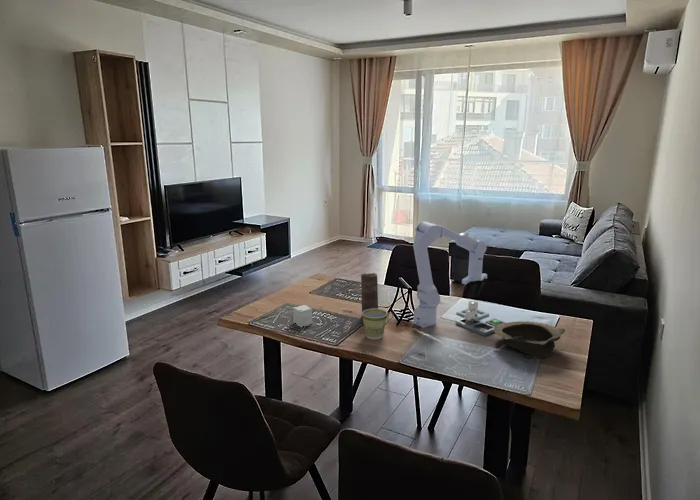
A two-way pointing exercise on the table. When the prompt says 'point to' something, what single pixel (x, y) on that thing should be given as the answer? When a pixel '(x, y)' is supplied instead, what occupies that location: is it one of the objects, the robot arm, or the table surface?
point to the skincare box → (302, 315)
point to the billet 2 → (469, 317)
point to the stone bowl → (530, 337)
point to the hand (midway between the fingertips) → (473, 296)
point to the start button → (496, 322)
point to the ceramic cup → (375, 322)
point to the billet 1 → (473, 306)
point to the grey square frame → (475, 317)
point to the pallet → (477, 326)
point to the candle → (369, 291)
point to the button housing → (492, 323)
